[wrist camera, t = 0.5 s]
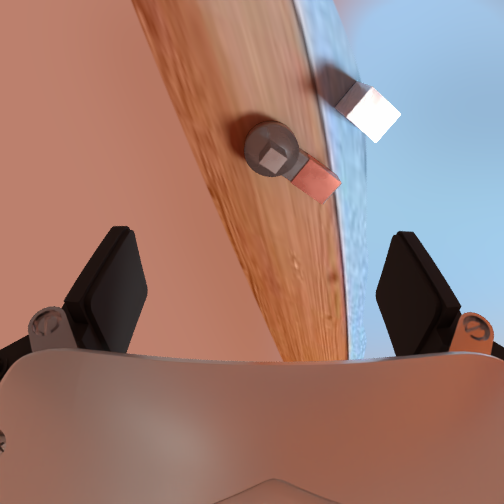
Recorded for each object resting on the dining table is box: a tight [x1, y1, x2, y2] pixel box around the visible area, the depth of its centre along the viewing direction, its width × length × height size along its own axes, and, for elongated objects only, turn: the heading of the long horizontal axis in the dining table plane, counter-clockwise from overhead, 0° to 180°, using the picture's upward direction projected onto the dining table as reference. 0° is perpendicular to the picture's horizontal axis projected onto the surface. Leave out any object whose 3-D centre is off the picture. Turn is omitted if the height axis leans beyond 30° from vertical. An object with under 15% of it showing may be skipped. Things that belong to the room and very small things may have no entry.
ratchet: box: [244, 121, 342, 204], centre depth 40 cm, size 14×7×6 cm, turn 55°
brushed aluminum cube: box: [335, 81, 401, 143], centre depth 35 cm, size 5×5×6 cm
